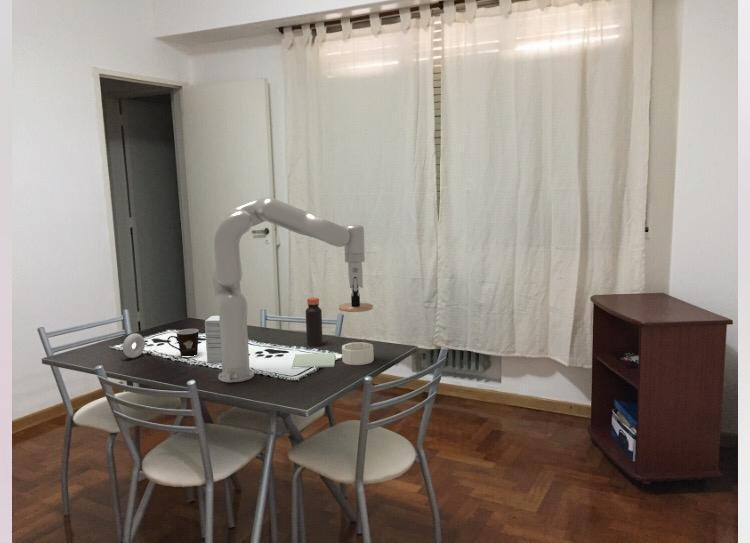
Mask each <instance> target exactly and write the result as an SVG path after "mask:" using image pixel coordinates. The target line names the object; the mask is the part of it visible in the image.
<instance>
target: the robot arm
mask: <svg viewBox="0 0 750 543" xmlns="http://www.w3.org/2000/svg"><path fill="white" fill-rule="evenodd" d="M224 216H225V217H224V219H223V220H221V222H220V224H219V225H218V226H217V229H216V231H215V233H214V236H213V237H214V238H213V243H214V244H213V247H214V249H213V250H214V264H213V265H212V272H211V275H212V285H213V294H214V300H215V305H216V306H217V308H218V313H219V315H218V316H219V320H220V340H221V356H222V362H221V368H222V369H221V370H222V372H220V373H219V374H218V375H217V378H218V380H219V381H220V382H224V383H240V382H245V381H248V380H252V378H254V377H255V372H254V370H252V369H250V367H251V366H250V350H249V334H248V332H249V331H248V302H247V299H246V297H245V296H244V294H243V293H242V291H241V289H242V288H241V281H242V279H243V271H242V270H243V269H242V262H241V253H240V251H241V250H240V242H241V238H242V237H243V235H245V234H246V233H247V232H249V231H250V230H251V228H253V227H254V226H257V225H260V224H263V223H265V222H267V223H270V224H273V225H274V226H275V225H276V226H277V227H281V228H283V229H286V230H289V231H291V232H293V233H296V234H299V235H302V236H307V237H309V238H314V239H317V240H320V241H322V242H325V243H326V244H328V245H329V246H334V247H336V248H341V247H344V262H345V263H347V272H348V273H347V274H348V284H349V288H350V289H351V297H350V298H351V301H350V303H351V305H352V307H358V306H360V303H361V297H360V289H363V287H364V283H363V277H364V276H363V263H364V262H365V260H366V259H365V257H366V256H365V229H364V226H363V225H361V224H348V225H340V224H338V223H335V222H333V221H330V220H327V219H325V218H322V217H320V216H317V215H314V214H313V213H311V212H308V211H305V210H304V209H301V208H298V207H296V206H293V205H291V204H288V203H286V202H283V201H282V200H278V199H277V198H274V197H261V198H258V199H256V200H254V201H250V202H248V203H246V204H243V205H241V206H238V207H235V208H232V209H231V210H228V212H227V213H226V214H225V215H224Z"/></svg>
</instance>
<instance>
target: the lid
mask: <svg viewBox="0 0 750 543" xmlns="http://www.w3.org/2000/svg"><path fill="white" fill-rule="evenodd" d="M373 309H374V305H373V304H371V303H368V302H360V306H358V307H352V305H351V302H346V303H342V304H340V305H339V306H338V310H339V311H341V312H348V313H356V312H357V313H362V312H368V311H371V310H373Z"/></svg>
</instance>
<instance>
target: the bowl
mask: <svg viewBox="0 0 750 543" xmlns="http://www.w3.org/2000/svg"><path fill="white" fill-rule="evenodd" d="M374 354H375V353H374V344H372V343H368V342H365V341H364V342H363V341H362V342H359V341H358V342H348V343H345V344H342V345H341V355H342V356H341V357H342V363H343V364H345V365H348V366H349V365H350V366H364V365H365V366H366V365H368V364H372V363H373V362H374V357H375V356H374Z"/></svg>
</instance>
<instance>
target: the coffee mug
mask: <svg viewBox="0 0 750 543" xmlns="http://www.w3.org/2000/svg"><path fill="white" fill-rule="evenodd" d="M199 333H200V331H199V329H198V328H185V329H181V330H177V331H176V335H171V336H168V338H167V339H166V342H167V344H168V345H169V346H170V347H171V348H173V349H176V350H178V351H179V353H180V357H181V356H194V355H197V356H198V352H199ZM171 338H174V339H176V342H178V343H177V344H178V347H176V346H174V345H173V344H171V343H170V342H169V340H170V339H171ZM194 357H195V356H194Z"/></svg>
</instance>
